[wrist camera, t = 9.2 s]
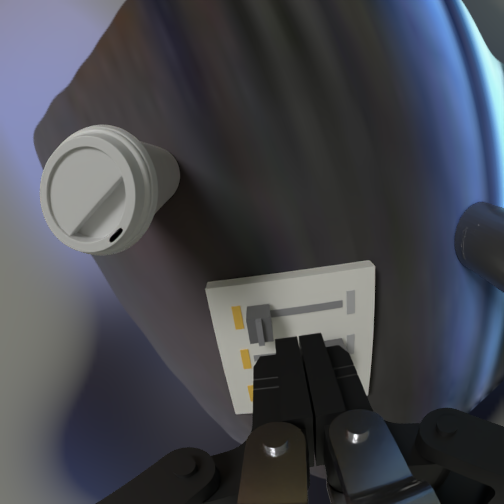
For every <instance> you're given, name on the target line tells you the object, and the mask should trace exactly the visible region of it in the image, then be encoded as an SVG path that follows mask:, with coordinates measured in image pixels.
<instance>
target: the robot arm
mask: <svg viewBox="0 0 504 504" xmlns="http://www.w3.org/2000/svg"><path fill="white" fill-rule="evenodd" d="M455 250H456V254H457V257H458V259H459V260H460V262H461V263H462V264H463V265H465V266H466V267H467V268H469V269H470V270H472V271H474V272H475V273H476V274H478V275H479V276H481V277H482V278H484V279H485V280H487V281H488V282H489V283H491V284H492V285H494V286H495V287H497V288H498V289H499V290H501V291H502V292H504V208H502V207H498V206H495V205H492V204H489V203H486V202H478V203H475V204H473V205H472V206H470V207H469V208H468V209H467V210H466V211H465V212H464V214H463V215H462V217H461V218H460V221H459V223H458V225H457V229H456V233H455ZM275 348H276V354H275V355H267V356H260V357H259V359H258V360H257V362H256V364H255V365H254V367H253V426H252V431H251V433H250V435H249V436H248V438H247V440H246V441H245V442H244V443H243V444H242V445H240V446H239V447H237V448H235V449H233V450H230V451H227V452H224V453H220V454H217V455H213V456H210V455H209V454H208V453H207V452H205V451H203V450H201V449H198V448H190V447H187V448H181V449H177V450H174V451H172V452H170V453H169V454H167V455H165V456H164V457H163V458H161V459H160V460H159V461H158V462H156V463H155V464H154V465H152V466H151V467H149V468H148V469H147V470H145V471H144V472H142V473H141V474H140V475H138V476H137V477H135V478H134V479H132V480H131V481H129V482H128V483H127V484H125V485H124V486H122V487H121V488H119V489H118V490H116V491H115V492H113V493H112V494H110V495H109V496H107V497H105V498H104V499H103V500H101V501H99V502H98V503H96V504H308V489H309V486H310V469H309V467H313V466H314V454H315V460H316V466H319V465H325V469H326V474H327V484H326V485H327V490H328V494H329V497H330V501H331V504H504V427H503V426H500V425H497V424H495V423H491V422H489V421H486V420H483V419H480V418H478V417H475V416H472V415H470V414H467V413H464V412H462V411H459V410H456V409H452V408H440V409H436V410H434V411H432V412H430V413H429V414H427V415H426V416H425V417H424V418H423V420H422V422H421V423H413V424H396V423H391V422H388V421H385V420H383V418H382V417H381V416H380V415H378V414H377V413H375V412H373V410H372V408H371V406H370V403H369V401H368V398H367V396H366V393H365V391H364V388H363V386H362V383H361V381H360V378H359V376H358V375H357V371H356V368H355V366H354V364H353V361H352V359H351V356H350V354H349V353H348V352H347V351H346V350H345V349H343V348H342V347H341V346H340V345H335V346H330V347H326V346H325V343H324V340H323V337H322V334H321V333H315V334H308V335H301V336H299V343H298V338H297V336H295V337H287V338H280V339H275Z"/></svg>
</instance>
